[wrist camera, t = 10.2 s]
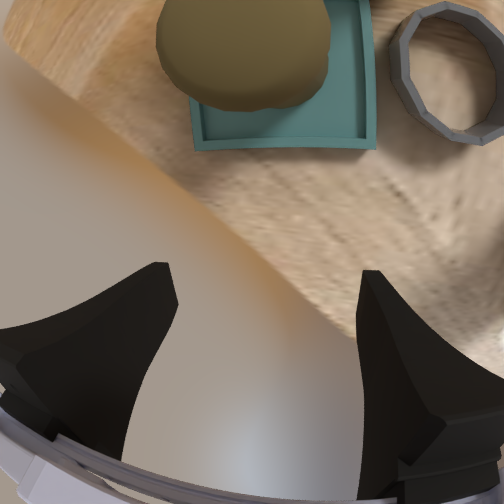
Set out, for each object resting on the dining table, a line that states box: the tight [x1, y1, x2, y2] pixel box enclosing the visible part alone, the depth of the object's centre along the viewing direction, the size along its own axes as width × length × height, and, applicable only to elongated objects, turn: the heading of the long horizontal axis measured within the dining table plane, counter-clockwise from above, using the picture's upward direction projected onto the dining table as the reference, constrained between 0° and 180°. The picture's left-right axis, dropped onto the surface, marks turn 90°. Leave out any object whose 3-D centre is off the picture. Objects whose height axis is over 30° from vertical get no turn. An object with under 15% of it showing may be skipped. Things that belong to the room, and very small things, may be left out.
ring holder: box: [389, 1, 504, 146], centre depth 12 cm, size 9×9×2 cm
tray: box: [189, 0, 376, 151], centre depth 15 cm, size 10×11×1 cm
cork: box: [156, 0, 331, 112], centre depth 11 cm, size 6×6×11 cm
